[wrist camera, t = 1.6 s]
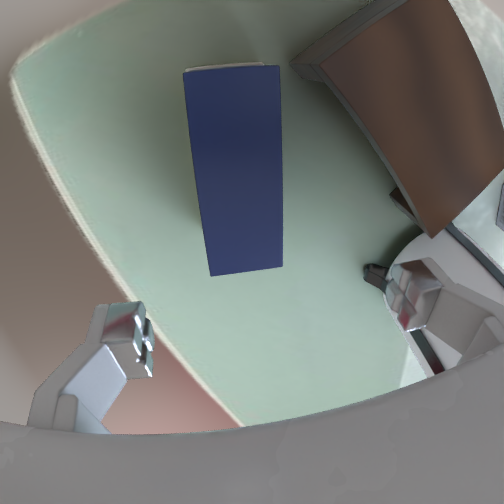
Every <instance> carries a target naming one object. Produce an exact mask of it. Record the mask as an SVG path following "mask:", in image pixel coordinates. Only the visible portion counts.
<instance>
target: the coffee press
mask: <svg viewBox="0 0 504 504" xmlns="http://www.w3.org/2000/svg"><path fill="white" fill-rule="evenodd" d="M426 257H430V258H432V259H433V260H434V261H435V262H436V263H437V264H438V265H439V266H440V267H441V269H442V270H443V271H444V272H445V273H446V274H447V275H448V276H449V278H450V279H451V280H452V281H453V282H454V283H455V284H457V283H459V284H461V285H463V286H465V287H467V288H469V289H471V290H473V291H475V292H477V293H479V294H481V295H483V296H485V297H487V298H489V299H491V300H493V301H495V302H497V303H499V304H501V305H503V306H504V270H503V269H502V268H501V267H500V266H499V265H498V264H497V263H496V262H495V261H494V260H493V259H492V258H491V257H490V256H489V255H488V254H487V253H486V252H485V251H484V250H483V249H482V248H481V247H480V246H479V245H478V244H477V243H476V242H475V241H474V240H472V239H471V238H470V237H469V236H468V235H467V234H466V233H464V232H463V231H462V230H460V229H458V228H456V227H455V226H454V225H453V223H452V221H451V222H450V223H449V224H448V225H447V226H446V227H445V228H444V229H443V230H442V231H441V232H439V233H438V234H437V235H436V236H435V237H434V238H433V239H431V238H430V237H429V236H428V235H427V234H426V233H425V232H424V233H422V234H421V235H419V236H418V237H416V238H415V239H413V240H412V241H411V242H410V243H409V244H408V245H407V246H406V247H405V248H404V249H403V250H402V251H401V252H400V253H399V255H398V256H397V257H396V259H395V260H394V262H393V263H392V265H391V267H390V268H385V267H382V266H379V265H376V264H368V265H366V268H365V273H364V277H363V278H364V280H365V281H366V282H368V283H370V284H372V285H374V286H376V287H378V288H379V289H380V290H382V291H383V297H384V302H385V305H386V307H387V309H388V311H389V312H390V314H391V316H392V317H393V319H394V321H395V322H396V324H397V326H398V327H399V329H400V331H401V333H402V334H403V336H404V338H405V339H406V341H407V343H408V344H409V346H410V348H411V350H412V351H413V353H414V355H415V356H416V358H417V360H418V362H419V364H420V365H421V367H422V369H423V371H424V372H425V374H426V376H427V378H429V377H432V376H434V375H437V374H439V373H441V372H444V371H446V370H448V369H451V368H453V367H455V366H456V365H457V363H458V361H459V360H460V358H461V357H462V354H460V353H459V352H457V351H456V350H455V349H453V348H452V347H450V346H449V345H448V344H446V343H445V342H443V341H442V340H441V339H439V338H438V337H436V336H435V335H434V334H432V333H431V332H429V331H428V330H426V329H425V327H423V328H420V329H416V330H413V331H409V332H405V331H404V329H403V328H402V326H401V324H400V323H399V321H398V320H397V315H398V313H396V312H394V311H392V310H391V309H390V307H389V305H388V303H387V300H386V292H385V291H386V287H387V284H388V282H389V281H390V280H391V279H392V277H391V275H390V272H391V268H392V266H393V265H394V264H397V263H402V262H408V261H413V260H417V259H421V258H426Z"/></svg>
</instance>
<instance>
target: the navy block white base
mask: <svg viewBox="0 0 504 504" xmlns="http://www.w3.org/2000/svg"><path fill="white" fill-rule="evenodd" d="M183 81H184V91H185V100H186V109H187V118H188V126H189V135H190V143H191V151H192V158H193V166H194V173H195V180H196V188H197V195H198V201H199V208H200V215H201V221H202V228H203V234H204V240H205V247H206V253H207V259H208V265H209V270H210V276H211V277H212V276H219V275H227V274H234V273H241V272H249V271H256V270H263V269H270V268H277V267H282V266H283V178H282V126H281V93H280V67H279V66H278V65H263V62H249V63H233V64H221V65H211V66H202V67H194V68H186V69H185V73H183Z"/></svg>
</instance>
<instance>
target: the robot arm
mask: <svg viewBox="0 0 504 504" xmlns="http://www.w3.org/2000/svg"><path fill="white" fill-rule="evenodd" d="M390 275H391V277H392V279H391V280H390V281H389V282H388V284H387V287H386V291H385V292H386V300H387V303H388V305H389V307H390V309H391V310H392V311H394V312H396V313H398V315H397V320H398V321H399V323H400V324H401V326H402V328H403V329H404V331H405V332H409V331H413V330H416V329H420V328H423V327H425V329H426V330H428V331H429V332H431V333H432V334H434V335H435V336H436V337H438V338H439V339H441V340H442V341H443V342H445V343H446V344H448V345H449V346H450V347H452V348H453V349H455V350H456V351H457V352H459V353H460V354H462V357H461V358H460V360H459V361H458V363H457V365H456V366H455V367H453V368H451V369H448V370H446V371H444V372H441V373H439V374H437V375H434V376H432V377H429V378H427V379H424V380H422V381H419V382H416V383H414V384H411V385H408V386H406V387H403V388H400V389H397V390H394V391H391V392H389V393H386V394H383V395H379V396H376V397H373V398H370V399H367V400H363V401H360V402H357V403H353V404H350V405H346V406H342V407H339V408H335V409H331V410H327V411H323V412H319V413H315V414H310V415H306V416H301V417H297V418H292V419H287V420H282V421H276V422H271V423H265V424H259V425H253V426H246V427H239V428H231V429H223V430H214V431H203V432H190V433H175V434H144V435H128V434H127V435H126V434H125V435H124V434H123V435H122V434H112V433H111V432H110V431H109V430H108V429H107V428H106V427H105V426H104V425H103V424H102V423H101V420H102V419H103V417H104V416H105V414H106V413H107V411H108V410H109V408H110V406H111V405H112V403H113V402H114V400H115V399H116V397H117V396H118V394H119V393H120V391H121V389H122V388H123V386H124V385H125V384H126V382H127V379H140V378H151V377H152V373H153V372H152V371H153V358H152V357H151V354H150V353H151V352H152V351H153V350H154V342H155V341H154V332H153V328H152V324H151V322H150V320H149V319H147V318H146V317H145V315H146V309H145V307H144V304H143V302H141V301H137V302H125V303H112V304H104V305H97V306H96V307H95V308H94V312H93V315H92V319H91V322H90V325H89V329H88V332H87V336H86V340H85V343H84V344H80V345H79V346H78V347H77V348H76V349H75V350H74V351H73V352H72V353H71V354H70V355H69V356H68V357H67V358H66V359H65V360H64V361H63V362H62V363H61V365H59V367H58V368H57V369H56V370H55V371H54V372H53V373H52V374H51V375H50V376H49V377H48V378H47V379H46V380H45V381H44V382H43V383H42V384H41V385H40V386H39V387H38V389H37V390H36V391H35V393H34V397H33V401H32V405H31V409H30V413H29V417H28V421H27V426H24V425H18V424H12V423H8V422H3V421H0V504H504V306H503V305H501V304H499V303H497V302H495V301H493V300H491V299H489V298H487V297H485V296H483V295H481V294H479V293H477V292H475V291H473V290H471V289H469V288H467V287H465V286H463V285H461V284H459V283H457V284H455V283H454V282H453V281H452V280H451V279H450V278H449V276H448V275H447V274H446V273H445V272H444V271H443V270H442V269H441V267H440V266H439V265H438V264H437V263H436V262H435V261H434V260H433V259H432V258H430V257H426V258H421V259H417V260H413V261H408V262H402V263H397V264H394V265H393V266H392V268H391V272H390Z"/></svg>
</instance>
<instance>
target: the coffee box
mask: <svg viewBox="0 0 504 504" xmlns="http://www.w3.org/2000/svg"><path fill="white" fill-rule="evenodd" d="M496 225H497V226H498V227H499V228H500V229H502V230H503V231H504V184H503V187H502V194H501V200H500V206H499V211H498V217H497V221H496Z"/></svg>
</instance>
